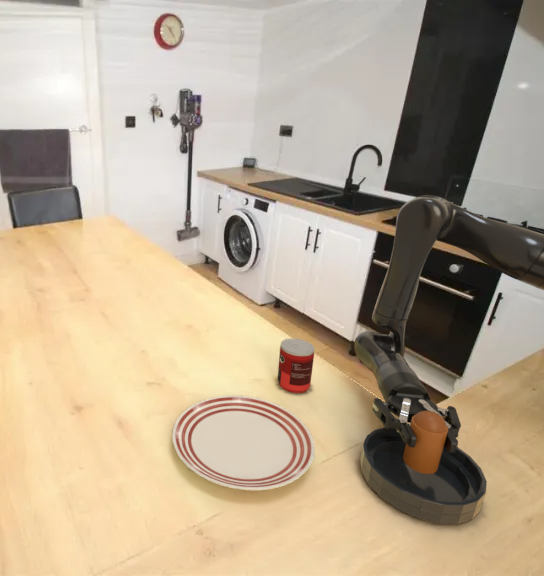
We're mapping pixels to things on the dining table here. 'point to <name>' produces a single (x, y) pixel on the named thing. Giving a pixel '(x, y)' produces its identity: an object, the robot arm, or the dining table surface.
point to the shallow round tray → (423, 480)
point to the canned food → (295, 365)
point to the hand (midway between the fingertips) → (432, 445)
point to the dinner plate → (243, 442)
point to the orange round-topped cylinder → (426, 442)
